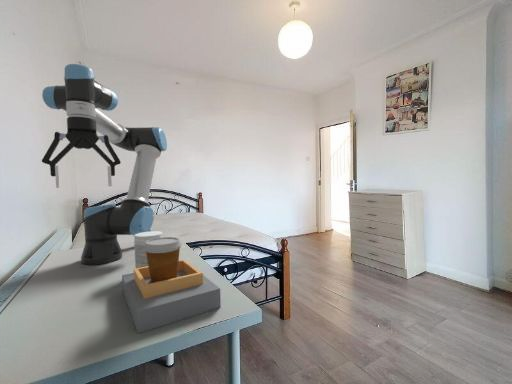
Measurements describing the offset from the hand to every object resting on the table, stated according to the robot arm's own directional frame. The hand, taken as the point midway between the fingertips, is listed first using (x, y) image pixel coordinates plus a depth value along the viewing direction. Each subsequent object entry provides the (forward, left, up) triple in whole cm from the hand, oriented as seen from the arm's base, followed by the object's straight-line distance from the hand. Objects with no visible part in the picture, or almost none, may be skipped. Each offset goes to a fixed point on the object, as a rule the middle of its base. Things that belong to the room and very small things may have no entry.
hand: (85, 187), depth 82 cm
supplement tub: (+1, +18, -32) cm, 37 cm away
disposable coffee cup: (+27, +16, -27) cm, 41 cm away
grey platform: (+22, +18, -32) cm, 43 cm away
